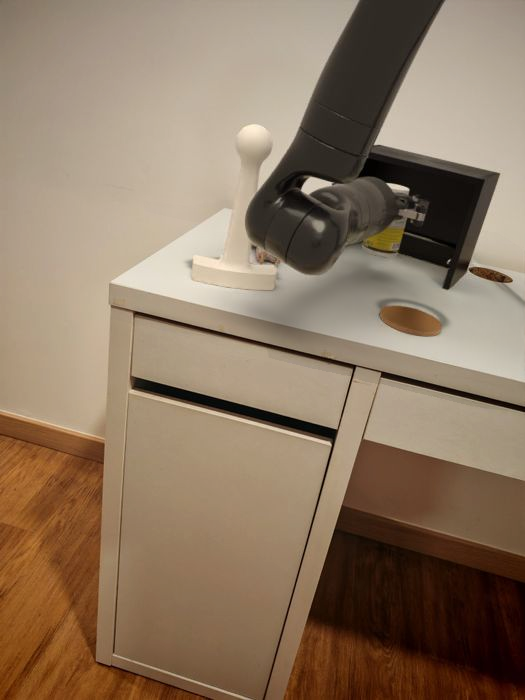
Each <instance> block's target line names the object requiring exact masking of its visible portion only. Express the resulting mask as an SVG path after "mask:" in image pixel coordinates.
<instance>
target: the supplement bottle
mask: <svg viewBox="0 0 525 700" xmlns="http://www.w3.org/2000/svg"><path fill="white" fill-rule="evenodd" d="M386 184H387V185H388V186H389V187H390V188H391V190H392V191H393V192H394V193H404V194H407V195H408V194H409V188H407V187H404V186H401V185H396V184H390V183H386ZM406 221H407V217H404V219H402V220H394V221H393V222H392V223H391V224H390V225H389V226H388V227H387V228H386V229H385V230H384V231H383V232H381V233H379V234H377V235H374V236H372V237H370V238H368V239H365V240H363V242H362V245H361V246H362V247H361V248H362V250H363V251H364V252H366V253H368V254H370V255H372V256H377V257H380V258H394V257H396V256H398V254H399V253H398V250H399V247H400V243H401V239H402V235H403V232H404V228H405V224H406Z"/></svg>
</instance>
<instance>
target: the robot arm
mask: <svg viewBox="0 0 525 700" xmlns="http://www.w3.org/2000/svg"><path fill="white" fill-rule="evenodd" d="M445 2H446V0H358V2H357V3H356V5H355V7H354V9H353V11H352V13H351V15H350V17H349V18H348V20H347V22H346V24H345V26H344V28H343V30H342V31H341V33H340V36H339V37H338V39H337V40H336V43H335V45H334V47H332V48H333V49H331V50H332V51H331V52H330V54H329V56H328V58H327V60H326V62H325V64H324V66H323V68H322V70H321V73H320V75H319V77H318V79H317V82H316V84H315V85H314V89H313V90H312V93H311V96H310V99H309V100H308V103H307V106H306V108H305V111H304V114H303V116H302V119H301V120H300V123H299V126H298V129H297V131H296V133H295V136H294V138H293V140H292V142H291V143H290V145H289V146H288V148H287V149H286V151H285V153H284V154H283V155H282V157H281V158H280V160H279V162H278V163H277V165H276V166H275V168H274V169H273V170H272V172H271V173H270V174H269V176H268V177H267V178H266V180H265V181H264V182H263V184H262V185H261V186H260V188H259V189H257V193H256V194H255V196H254V197H253V199H252V200H251V202H250V204H249V206H248V208H247V211H246V215H245V230H246V234H247V236H248V238H249V240H250V241H251V242H252V243H253V244H255V245H256V246H258V247H259V248H261V249H262V250H264V251H266V252H267V253H269V254H270V255H272V256H274V257H275V258H277V259H279V260H280V262H282V263H283V264H285V265H287V266H288V267H290V269H293V270H295V271H296V272H298V273H300V274H302V275H306V276H321V275H324V274H326V273H327V272H329V271H330V270H331V269H332V268H333V267H334V265H335V264H336V263H337V262H338V261H339V258H340V257H341V255H342V254H343V251H344V249H345V248H346V247H347V246H346V245H349V244H351V245H353V244H357V243H360V242H361V241H363V240H365V239H368V238H370V237H372V236H374V235H377V234H379V233H381V232H383V231H384V230H385V229H386V228H387V227H388V226H389V225H390V224H391V223H392V222H393V221H394V220H402V219H404V217H407V218H411V221H410V222H412V223H413V225H415V226H416V227H419V226H420V227H421V226H422V225H423V223H424V220H425V217H426V213H427V210H428V206H429V203H430V202H428V201H427V200H424V199H421V195H418V194H416V195H413V196H409V195H407V194H404V193H394V192H393V191H392V190H391V188H390V187H389V186H388V185H387V184H386V183H385V182H384V181H382V180H381V179H378V178H375V177H361V178H357V177H358V176H359V174H360V172H361V171H362V169H363V167H364V165H365V162H366V160H367V158H368V155H369V154H370V152H371V150H372V147H373V145H375V143H376V141H377V139H378V137H379V134H380V132H381V130H382V128H383V127H384V124H385V121H386V120H387V118H388V115H389V113H390V111H391V109H392V107H393V105H394V103H395V100H396V98H397V96H398V94H399V92H400V89H401V87H402V85H403V83H404V81H405V79H406V77H407V74H408V73H409V70H410V69H411V66H412V64H413V63H414V61H415V59H416V56H417V55H418V53H419V50H420V48H421V47H422V45H423V43H424V41H425V39H426V36H427V35H428V33H429V31H430V29H431V27H432V25H433V23H434V22H435V20H436V18H437V16H438V15H439V13H440V11H441V9H442V7H443V6H444V4H445ZM310 178H315V179H317V180H322V181H325V182H329V183H331V185H328V186H322V187H320V188H318V189H317V188H316V189H315V190H313V191H311V192H310V193H309V194H307V193H306V192H305V191H303V190H302V189H303V187H304V185H305V183H306V182H307V181H308V180H310ZM361 243H362V242H361ZM256 246H255V247H256ZM345 246H346V247H345ZM349 246H350V245H349Z"/></svg>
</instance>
